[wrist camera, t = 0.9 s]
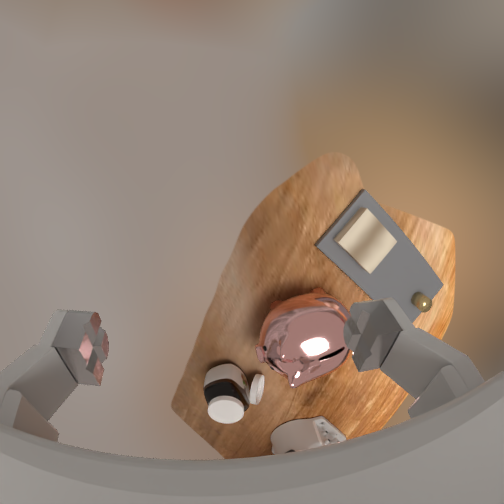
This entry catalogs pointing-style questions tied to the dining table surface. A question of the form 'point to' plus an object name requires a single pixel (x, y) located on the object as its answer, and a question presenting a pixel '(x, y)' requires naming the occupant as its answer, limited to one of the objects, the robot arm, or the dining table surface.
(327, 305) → the piggy bank
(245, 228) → the dining table surface
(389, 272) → the board
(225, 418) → the spread jar
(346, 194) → the dining table surface
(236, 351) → the dining table surface
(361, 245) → the beige flat block
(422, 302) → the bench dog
